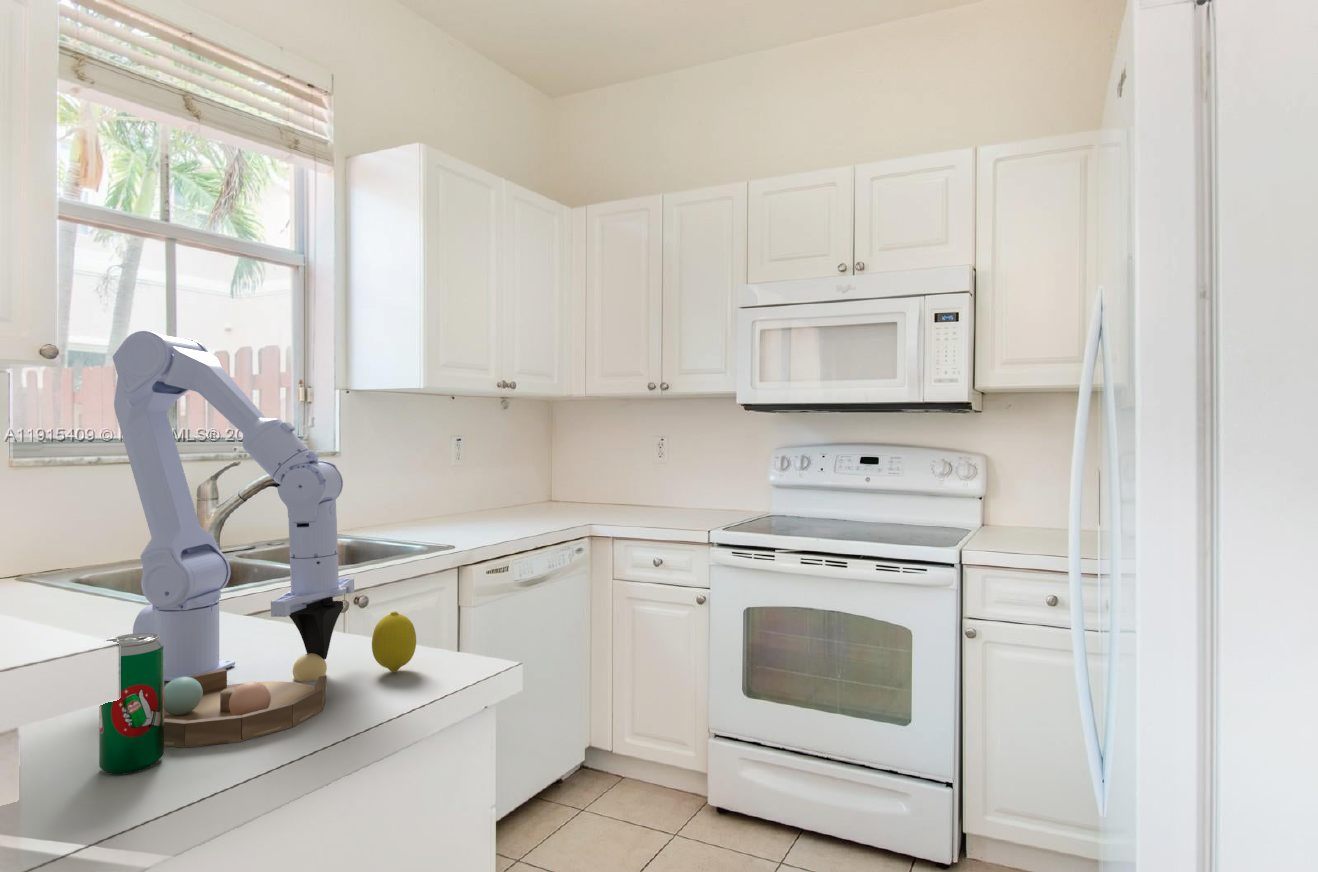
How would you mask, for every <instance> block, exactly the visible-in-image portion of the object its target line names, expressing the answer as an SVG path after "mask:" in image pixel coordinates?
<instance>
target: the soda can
mask: <svg viewBox="0 0 1318 872" xmlns="http://www.w3.org/2000/svg"><path fill="white" fill-rule="evenodd" d="M159 637H160V636H159V635H158V634H155V633H135V634H133V633H130V634H129V633H128V634H123V635H122V634H121V635H118V636H114V637H111V638H108V639H106V640H105V641H113V642H117V643H119V644H120V646H121V698H120V699H119V700H117V701H113V702H108V703H105V704H103V705H100V706H99V707H98V711H99V712H98V717H99V721H98V723H99V724H98V725H99V727H98V728H99V730H98V731H99V732H98V735H99V736H98V737H99V738H98V743H99V744H98V745H99V746H98V749H99V751H98V752H99V754H98V755H99V756H98V757H99V758H98V764H99V768H100V769H101V771H103V772H105V773H106V774H109V775H116V776H118V775H119V776H120V775H122V776H123V775H130V774H134V773H135V774H136V773H139V772H143V771H144V770H147V769H149V768H152V767H154V766H155V765H156V764H157V763H159V762H160V760H161V759H162V758H163V756H164V755H165V746H164V684H165V681H164V645H163V644H162V643H161V641H160V640H159Z"/></svg>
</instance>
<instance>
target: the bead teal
mask: <svg viewBox="0 0 1318 872" xmlns="http://www.w3.org/2000/svg"><path fill="white" fill-rule="evenodd" d="M168 682H169V683H168ZM168 682H167V683H168V684H167V685H166V686H165V687H164V710H165V711H166V712H168V713H170V714H173V715H183V714H186V713H189V712H191V711H192V710H194V709H195V708H196V707H197V706H198V705H199V703H200V701H201V699H202V696H203V690H202V687H201V685H200V683H199V682H198V681H197V680H195V679H193V678H191V677H179V678H176V679H174V680H172V681H168Z"/></svg>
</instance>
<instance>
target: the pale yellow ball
mask: <svg viewBox="0 0 1318 872" xmlns="http://www.w3.org/2000/svg"><path fill="white" fill-rule="evenodd" d="M326 673H327V662H326V659H325V660H324V659H322V658H321V657H320V656H319V655H317V654H314V653H309V654H307V653H306V654H303V655H302V656H300V657H299V658H298V659H297V660H296V661H295V663H294V664H293V666H292V676H293V679H294V680H295V681H296V680H297V682H302V681H303V682H304V681H305V682H312V681H318V678H319V677H321V676H326Z"/></svg>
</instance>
